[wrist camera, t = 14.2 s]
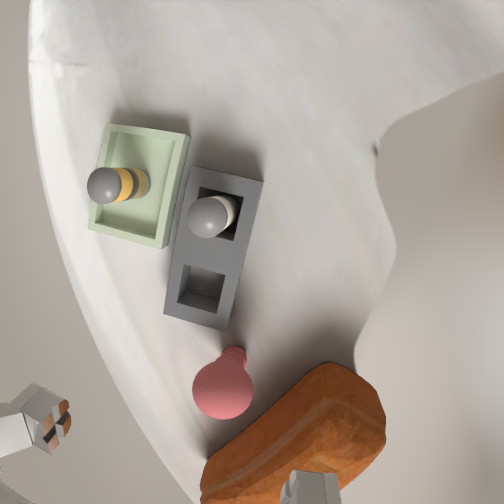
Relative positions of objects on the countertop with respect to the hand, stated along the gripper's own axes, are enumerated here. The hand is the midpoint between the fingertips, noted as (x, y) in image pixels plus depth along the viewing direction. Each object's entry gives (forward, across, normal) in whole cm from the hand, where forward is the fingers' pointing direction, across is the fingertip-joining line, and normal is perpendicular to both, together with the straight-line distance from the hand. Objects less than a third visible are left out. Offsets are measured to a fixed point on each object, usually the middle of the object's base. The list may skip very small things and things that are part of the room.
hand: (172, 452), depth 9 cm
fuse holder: (+31, +4, 0) cm, 31 cm away
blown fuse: (+30, +16, -5) cm, 35 cm away
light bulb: (+31, -1, +15) cm, 35 cm away
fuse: (+31, +4, -4) cm, 32 cm away
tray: (+31, +16, -5) cm, 35 cm away
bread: (+32, -13, +29) cm, 45 cm away
